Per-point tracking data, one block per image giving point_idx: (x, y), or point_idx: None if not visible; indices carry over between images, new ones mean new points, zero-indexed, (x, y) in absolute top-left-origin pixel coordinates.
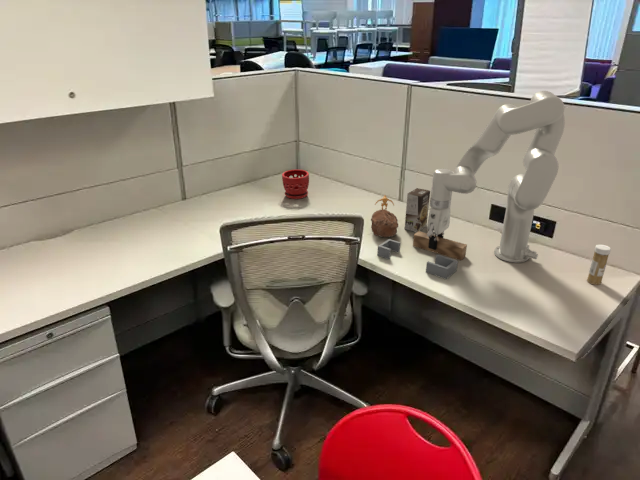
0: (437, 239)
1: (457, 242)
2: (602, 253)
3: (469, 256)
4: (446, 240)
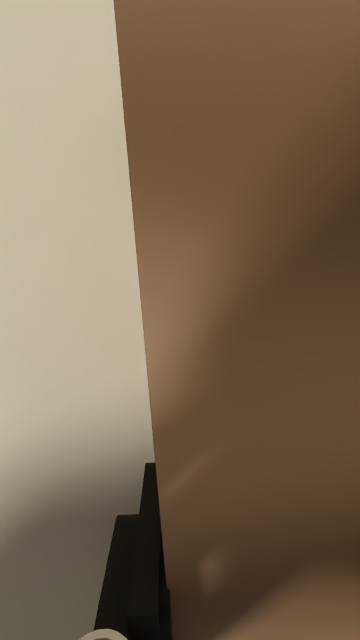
0: (306, 609)
1: (164, 215)
2: None
3: (99, 18)
4: (236, 473)
